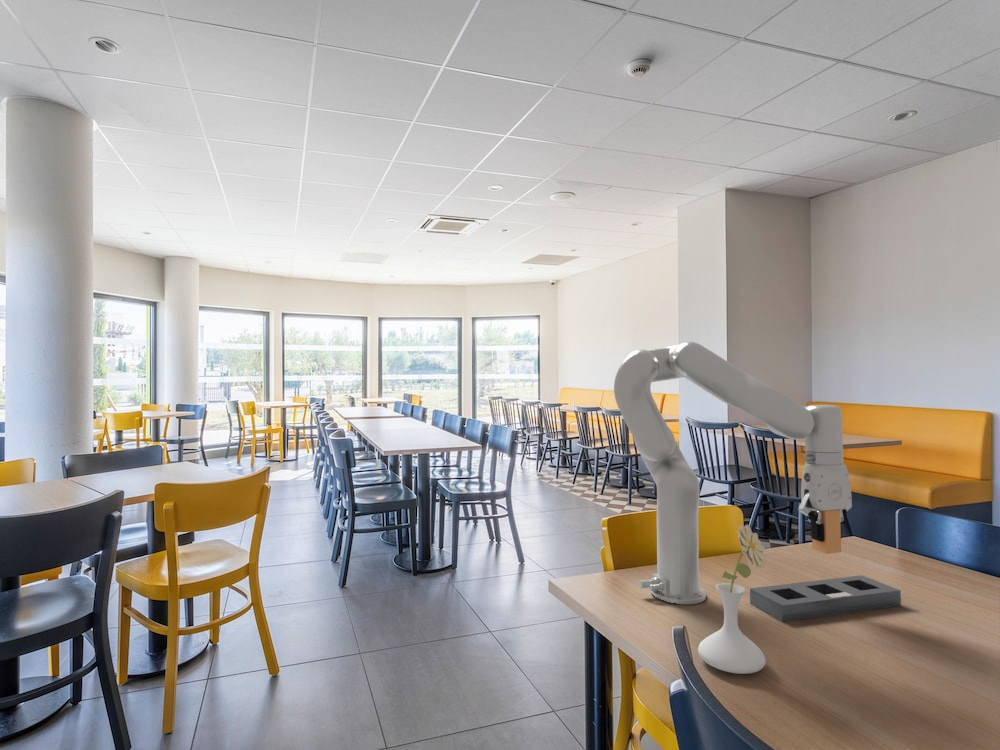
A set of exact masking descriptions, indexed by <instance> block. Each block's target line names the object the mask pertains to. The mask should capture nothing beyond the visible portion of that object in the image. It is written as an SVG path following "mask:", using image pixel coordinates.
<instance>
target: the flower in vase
mask: <svg viewBox="0 0 1000 750" xmlns="http://www.w3.org/2000/svg"><path fill="white" fill-rule="evenodd" d="M737 535H738V536H737V539H738V543H739V546H740V548H741V552H740V554H739V557H738V559H737V561H736V564H735V565H736V566H735V568H734V572H733V574H731V573H729V572H727V571H726V570H725V571H724V573H723V574H722V575H721V577H722V578H725V579H728V580H731V582H730V583H729V582H721V583H718V584H716V585H715V588H716V590H717V591H718V592H719V595H720V597H721V600H722V604H723V616H724V617H723V625H722V626H721V628H720V629H718V630H717V631H715V632H713V633H711V634H710V635H707V636H706V637H705V638H704V639H702V641H701V642H699V645H698V648H697V652H698V655H699V657H700V658H701V659H702V661H703V662H705V663H706V664H708V665H709V666H711V667H713V668H715V669H718V670H720V671H723V672H727V673H732V674H739V675H740V674H741V675H745V674H753V673H757V672H760V671H761V670H762V669H763V668H764V667H765V666H766V664H767V660H766V657H765V654H764V653H763V651H762V650H761V649H760V648H759V647H758V645H757V644H755V642H753V641H752V640H751V639H750V638H748V637H747V635H745V634H744V633H743V632H742V631H741V630H740V627H739V622H738V611H739V604H740V600H741V599H742V596H743V595H744V594H745V593H746V588H745V587H744V586H742V585H739V584H736V583H735V580H736V579H737V578H738V576H736V575H737V573H738V574H739V575H740V576H741V577H743V578H744V579H745V578H748V577H750V576H751V573H752V571H751V568H750V567H749V566H748V565H747V564H746V563H744V562H740V561H741V559H742V556H745V558H746V559H747V561H748V562H749V564H750V565H752V566H755V567H756V568H760V569H761V568H762V569H763V568H765V567H764V566H765V565H764V563H767V561H768V560H767V559H766V557H767V556H766V554H765V553H764V552H765V551H766V548H765V546H764V545H762V541H761V539H759V535H758V533H757V532H752V529H751V527H750V526H749V525H748V524H745V525H743V524H742V523H740V526H739V527H738V530H737Z"/></svg>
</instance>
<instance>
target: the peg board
mask: <svg viewBox="0 0 1000 750" xmlns="http://www.w3.org/2000/svg"><path fill="white" fill-rule="evenodd" d="M901 592H902V591H901V589H897V588H895V587H893V586H890V585H887V584H885V583H883V582H880V581H878V580H875V579H872V578H870V577H867V576H865V575H861V574H860V575H853V576H844V577H838V578H837V577H836V578H828V579H820V580H811V581H810V580H809V581H802V582H793V583H785V584H784V583H783V584H777V585H769V586H768V585H766V586H760V587H750V588H749V604H750V605H752V606H753V607H755V608H757V609H759V610H760V611H762V612H764V613H766V614H767V615H769V616H771V617H773V618H775V619H776V620H778V621H779V622H782V623H783V622H784V623H785V622H792V621H799V620H807V619H813V618H814V619H815V618H821V617H829V616H835V615H836V616H837V615H842V614H843V615H844V614H851V613H858V612H864V611H865V612H866V611H873V610H879V609H880V610H881V609H887V608H894V607H901V606H902V604H901V602H902V601H901V600H902V597H901Z"/></svg>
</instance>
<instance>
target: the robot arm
mask: <svg viewBox="0 0 1000 750" xmlns="http://www.w3.org/2000/svg"><path fill="white" fill-rule="evenodd" d="M680 378H685V379H687V380H688V381H690V382H691V383H693V384H694V385H696V386H697V387H700V388H701V389H702V390H704V391H706V393H708V394H711V395H712V396H713V397H715V398H716V399H718V400H719V401H721V402H723V403H725V404H726V405H728V406H730V407H733V408H736V409H738V410H740V411H743V412H746V413H747V414H749V415H751V416H752V417H755V418H756V419H758V420H760V421H761V422H762V423H765V425H766V426H767V429H769V431H770V432H772V433H773V434H775V435H778V436H780V437H784V438H787V439H790V440H801V439H804V453H805V454H804V455H803V457H802V460H804V461H805V464H804V465H803V468H802V475H801V485H800V486H801V489H800V493H801V494H800V495H801V496H800V497H801V502H800V504H799V506H798V510H797V511H798V512H800V513H801V514H802V515H804V516H805V517H806V518H807V520H808V522H809V523H810V537H811V539H815V540H818V541H820V542H824V524H822V517H823V511H833V510H840V525H841V526H842V522H844V520H845V519H844V517H845V515H846V514H847V512H849V510H850V509H851V508H853V504H852V499H853V498H852V489H851V488H852V487H851V481H850V475H849V471H848V468H847V465H846V464H844V440H843V413H842V408H841V407H839V406H838V405H835V404H810V405H808V406H807V405H801V404H800V403H798V402H797V401H795V400H793V399H792V398H790V397H788V396H787V395H785V394H784V393H782V392H780V391H778V390H777V389H775V388H773V387H772V386H770V385H768V384H766V383H764V382H762V381H761V380H759V379H758V378H756V377H755V376H754V375H751V374H749V373H747V372H745V371H744V370H742V369H740V368H739V367H737V366H736V365H734V364H732V363H731V362H729V361H728V360H726V359H724V358H722V357H721V356H720V355H718V354H716V353H714V352H713V351H711V350H710V349H708V348H707V347H705V346H703V345H702V344H700V343H698V342H695V341H684V342H681V343H679V344H674V345H671V346H665V347H660V348H653V349H641V348H640V349H636V350H633V351H631V352H630V353H628V354H627V355H626V357H625V358H624V360H623V361H622V362H621V364H620V366H619V367H618V369H617V372H616V374H615V377H614V383H613V391H614V399H615V402H616V405H617V408H618V410H619V412H620V414H621V416H622V418H623V420H624V422H625V424H626V427H627V428H628V430H629V433H630V434H631V436H632V438H633V442H634V444H635V448H636V449H637V451H638V453H639V455H640V456H641V458H642V461H643V462H644V464H645V466H646V469H647V470H648V471H649V473H650V475H651V478H652V479H653V481H654V483H655V485H656V563H657V564H656V565H657V566H656V567H657V568H656V572H655V573H652V577H650V579H640V580H638V588H639V589H641V590H643V589H649V591H650V593H651V595H652V594H653V595H654V596H655V597H654V596H653V595H652V596H653V597H654V598H656V597H657V598H656V599H658V598H659V599H658V600H660V599H661V600H660V601H662V600H664V601H663V602H665V601H666V603H669V602H670V604H674V603H676V605H696V604H700V603H702V602H704V601H705V600H706V599H707V598H706V597H707V594H706V593H707V592H706V590H705V589H704V588H702V587H701V586H700V583H699V581H700V574H699V573H700V572H699V570H700V569H699V568H700V566H699V564H700V563H699V560H700V559H699V555H700V554H699V548H700V547H699V509H700V507H699V506H700V492H701V489H700V482H699V477H698V475H697V474H696V472H695V470H694V469H693V468H692V467H691V466H690V465H689V463H688V462H687V460H686V459H685V457H684V454H683V452H682V451H681V449H680V447H679V446H678V444H677V441H676V438H675V435H674V432H673V431H672V429H671V428H670V426H668V424H667V422H666V420H665V419H664V417H663V416H662V414H661V411H660V409H659V408H658V405H657V403H656V401H655V399H654V397H653V395H652V392H651V386H652V385H651V384H652V383H656V382H657V383H658V382H663V381H668V380H676V379H680ZM815 511H816V512H817V514H816V515H815ZM842 537H843V536H842V535H841V540H842V539H843V538H842Z"/></svg>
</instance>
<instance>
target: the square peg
mask: <svg viewBox="0 0 1000 750" xmlns="http://www.w3.org/2000/svg"><path fill="white" fill-rule="evenodd" d="M816 514H817V512H816V511H815V515H816ZM822 524H824V542H820V541H818V540H815V539H812V538H811V539H812V540H811V541H812V542H811V543H812V544H811V545H812V547H811V548H812V550H814V551H818V552H819V553H820V552H821V553H822V554H823V553H824V554H825V555H828V554H836V553H837V554H838V553H842V539H841V536H842V524H841V525H840V510H833V511H823V517H822Z"/></svg>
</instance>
